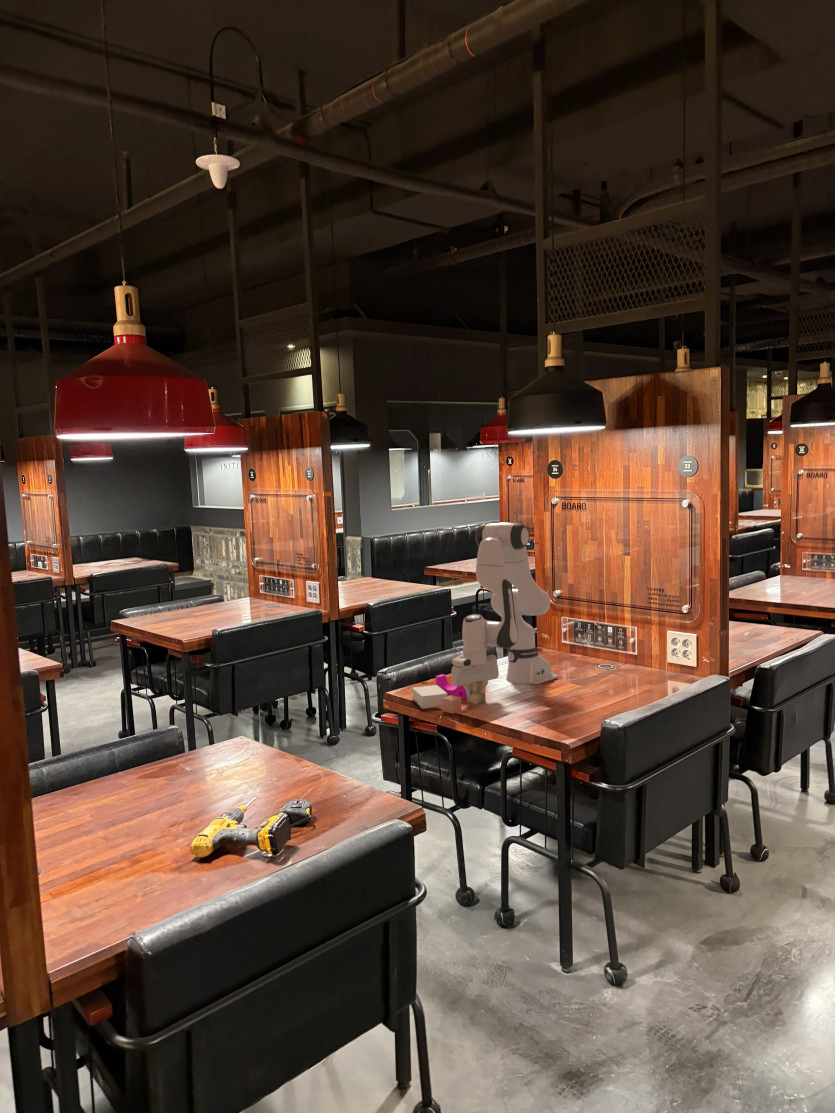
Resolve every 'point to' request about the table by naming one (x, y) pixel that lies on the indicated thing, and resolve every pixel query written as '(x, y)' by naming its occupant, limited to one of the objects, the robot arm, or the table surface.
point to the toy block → (450, 687)
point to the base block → (428, 696)
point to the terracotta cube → (451, 704)
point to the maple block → (477, 693)
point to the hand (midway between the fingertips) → (476, 693)
